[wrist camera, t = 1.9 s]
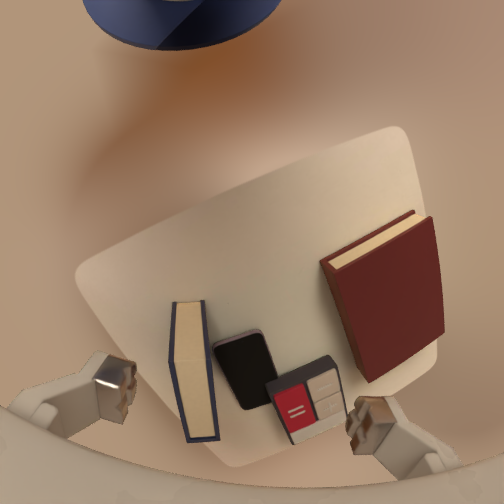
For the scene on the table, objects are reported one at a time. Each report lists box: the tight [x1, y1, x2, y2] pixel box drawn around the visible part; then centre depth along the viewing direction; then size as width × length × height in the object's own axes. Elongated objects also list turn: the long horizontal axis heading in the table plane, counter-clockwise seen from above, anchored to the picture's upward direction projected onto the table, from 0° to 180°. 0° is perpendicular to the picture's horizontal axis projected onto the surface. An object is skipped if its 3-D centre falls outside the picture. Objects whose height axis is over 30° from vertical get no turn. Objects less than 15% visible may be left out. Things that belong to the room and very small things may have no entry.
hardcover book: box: [168, 300, 220, 443], centre depth 35 cm, size 4×13×12 cm, turn 0°
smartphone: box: [212, 330, 279, 410], centre depth 43 cm, size 7×1×15 cm
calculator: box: [265, 355, 348, 445], centre depth 45 cm, size 11×4×15 cm
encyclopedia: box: [320, 210, 445, 383], centre depth 42 cm, size 22×16×4 cm
